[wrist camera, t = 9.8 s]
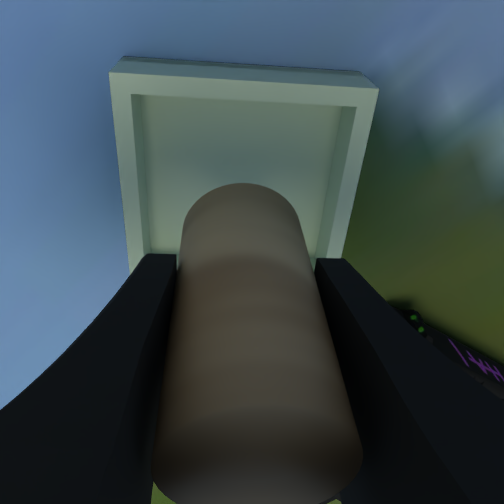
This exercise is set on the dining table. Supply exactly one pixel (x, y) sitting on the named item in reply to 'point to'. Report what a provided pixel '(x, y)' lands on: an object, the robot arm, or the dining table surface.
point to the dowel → (250, 363)
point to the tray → (237, 143)
